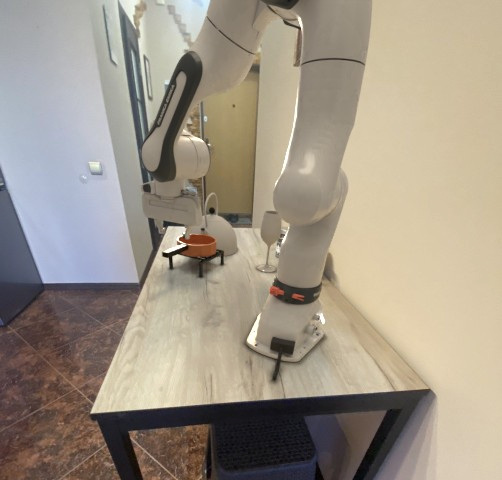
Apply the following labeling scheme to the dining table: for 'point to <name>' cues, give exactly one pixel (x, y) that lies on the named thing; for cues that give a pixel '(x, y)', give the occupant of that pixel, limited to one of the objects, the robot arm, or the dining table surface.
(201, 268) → the rack
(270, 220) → the wineglass
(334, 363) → the dining table surface
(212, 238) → the pan
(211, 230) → the kettle
